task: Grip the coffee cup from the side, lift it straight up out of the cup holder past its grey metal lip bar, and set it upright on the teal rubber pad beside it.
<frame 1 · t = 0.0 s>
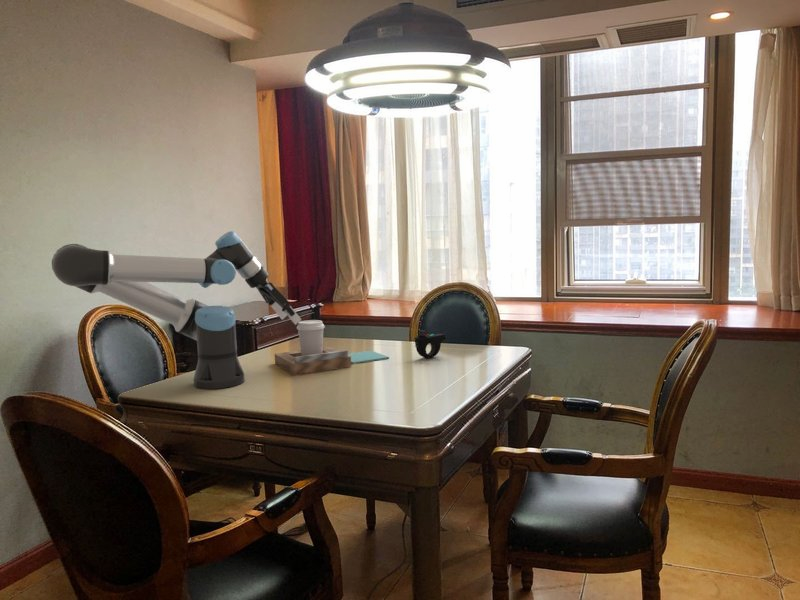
hand: (291, 319, 221), 15 cm above the table, tool tilted 35°, fingers open, 13 cm apart
pad: (362, 357, 228), on the table
coffee cup: (312, 365, 218), resting in cup holder
controller: (430, 358, 225), on the table
cup holder: (312, 365, 218), on the table
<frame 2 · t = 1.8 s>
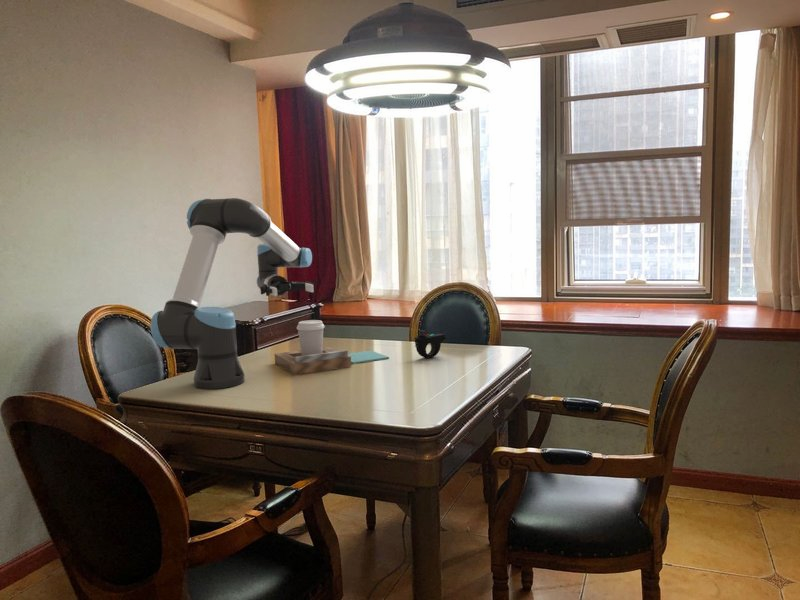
hand: (294, 290, 228), 25 cm above the table, tool horizontal, fingers open, 13 cm apart
nothing on the table moved.
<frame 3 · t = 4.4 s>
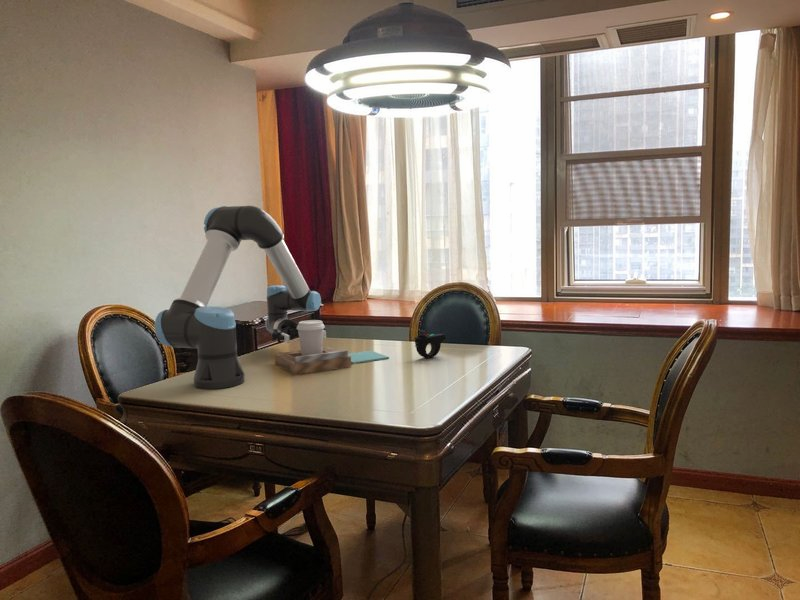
hand: (307, 337, 222), 9 cm above the table, tool horizontal, fingers open, 13 cm apart
nothing on the table moved.
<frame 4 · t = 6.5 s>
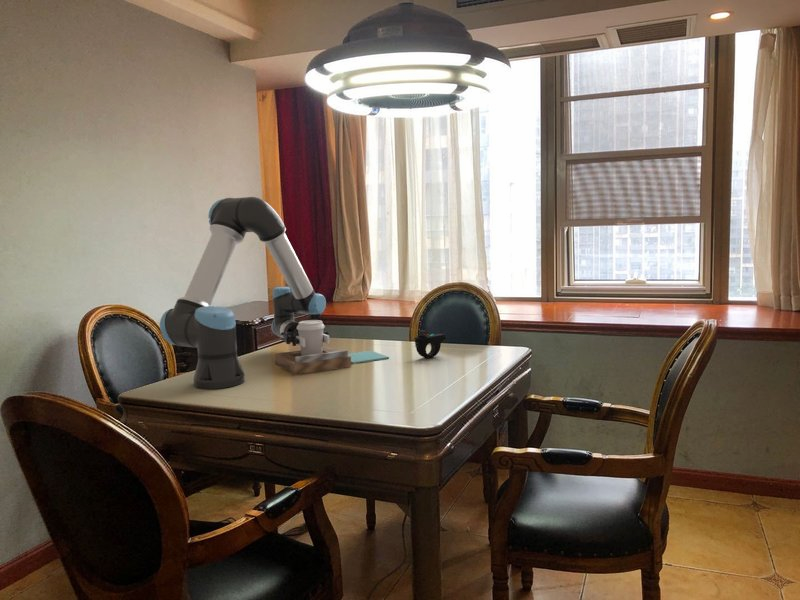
hand: (316, 341, 213), 9 cm above the table, tool horizontal, fingers closed on coffee cup, 8 cm apart
coffee cup: (312, 365, 218), resting in cup holder, touching gripper
everything else where it was.
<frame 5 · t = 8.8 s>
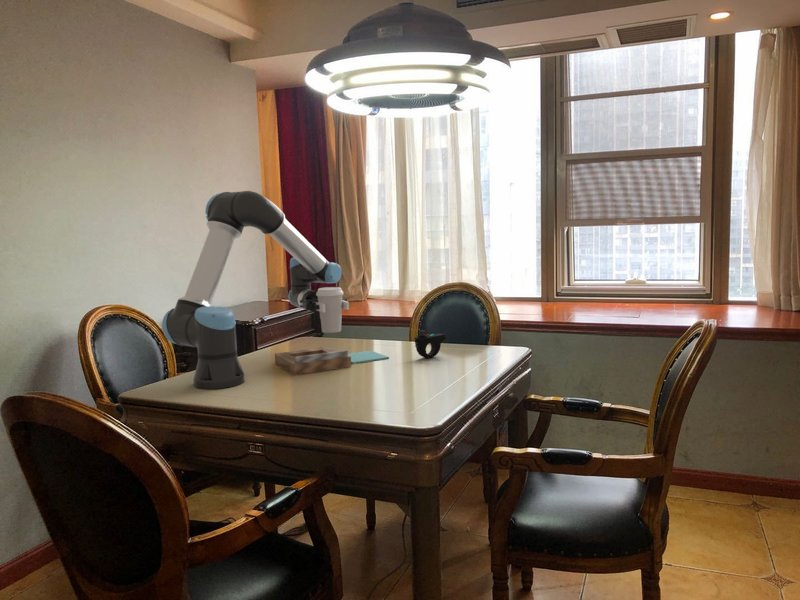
hand: (336, 307, 217), 20 cm above the table, tool horizontal, fingers closed on coffee cup, 8 cm apart
coffee cup: (331, 331, 222), point 11 cm above the table, touching gripper
everything else where it was.
when the fingers open (11 cm above the table, at t = 11.4 s): coffee cup drops 1 cm, resting on pad.
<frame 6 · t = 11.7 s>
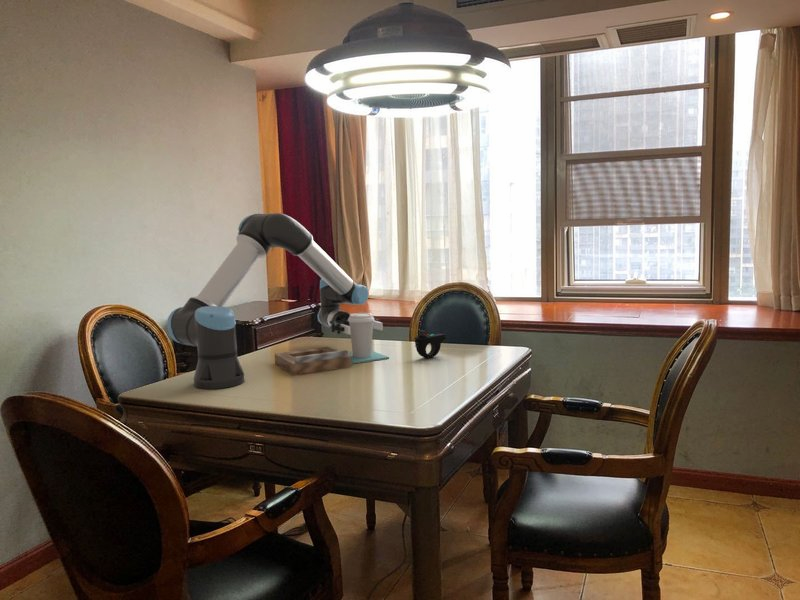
hand: (365, 328, 223), 11 cm above the table, tool horizontal, fingers open, 12 cm apart
coffee cup: (362, 356, 228), resting on pad
everything else where it was.
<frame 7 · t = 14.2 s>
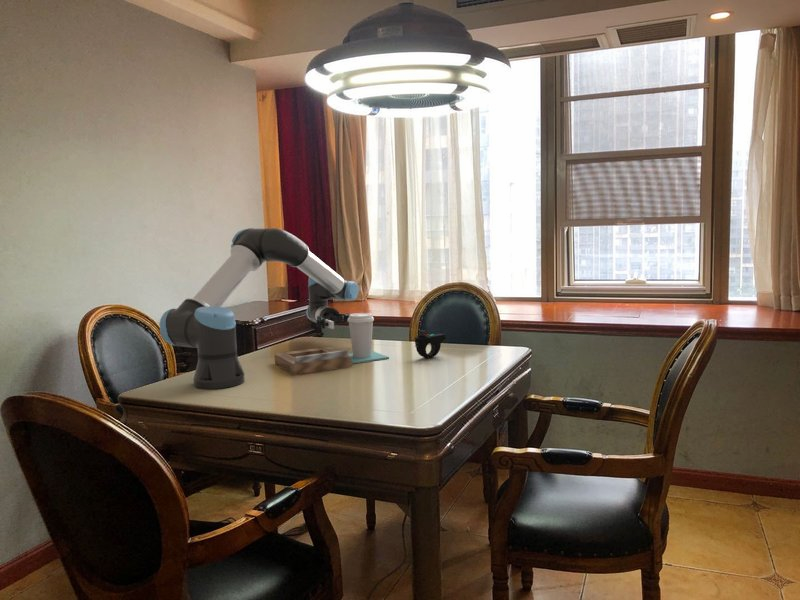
hand: (350, 323, 234), 11 cm above the table, tool horizontal, fingers open, 13 cm apart
nothing on the table moved.
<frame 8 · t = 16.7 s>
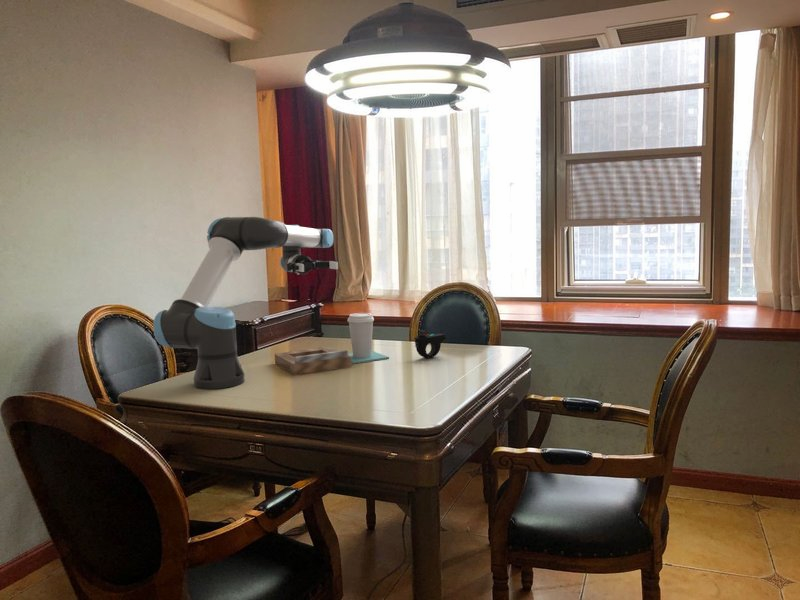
hand: (320, 266, 236), 32 cm above the table, tool horizontal, fingers open, 13 cm apart
nothing on the table moved.
at the end: coffee cup inside the target area on the pad (0.1 cm from its centre), point 0.4 cm above the pad's base; coffee cup tilted 0°; the gripper is holding nothing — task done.
